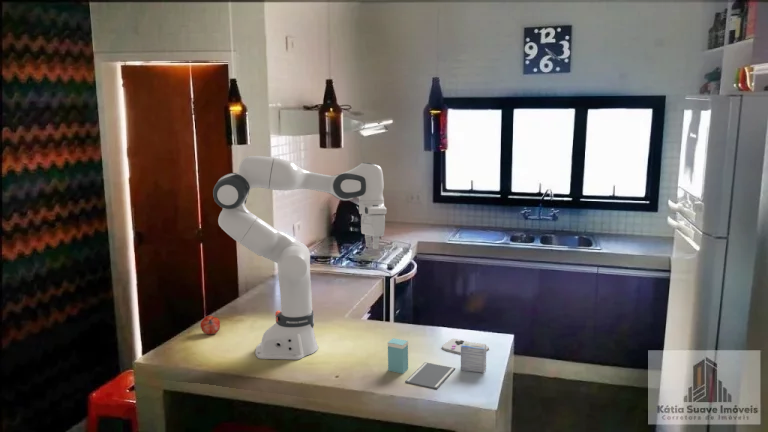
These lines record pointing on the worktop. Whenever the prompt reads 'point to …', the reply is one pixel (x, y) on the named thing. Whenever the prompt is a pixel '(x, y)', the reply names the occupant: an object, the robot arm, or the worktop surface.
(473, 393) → the worktop surface
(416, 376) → the mat
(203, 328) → the orange pumpkin
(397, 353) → the tea box
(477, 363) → the medicine box
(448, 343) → the handheld gaming console
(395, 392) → the worktop surface
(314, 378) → the worktop surface
